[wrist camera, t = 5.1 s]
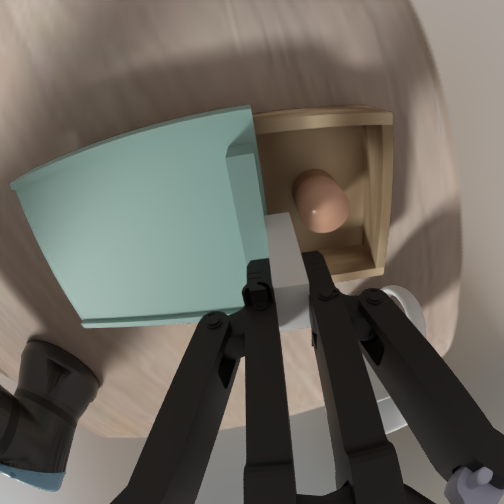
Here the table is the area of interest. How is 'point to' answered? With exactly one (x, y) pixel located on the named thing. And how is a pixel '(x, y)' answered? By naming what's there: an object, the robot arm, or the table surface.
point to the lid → (153, 220)
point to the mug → (385, 403)
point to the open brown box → (343, 172)
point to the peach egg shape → (320, 201)
